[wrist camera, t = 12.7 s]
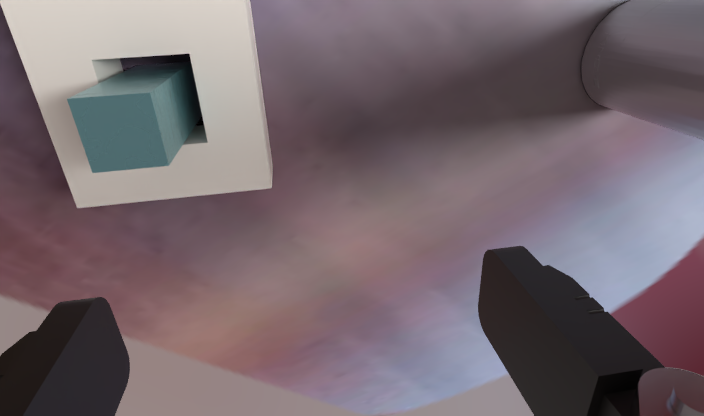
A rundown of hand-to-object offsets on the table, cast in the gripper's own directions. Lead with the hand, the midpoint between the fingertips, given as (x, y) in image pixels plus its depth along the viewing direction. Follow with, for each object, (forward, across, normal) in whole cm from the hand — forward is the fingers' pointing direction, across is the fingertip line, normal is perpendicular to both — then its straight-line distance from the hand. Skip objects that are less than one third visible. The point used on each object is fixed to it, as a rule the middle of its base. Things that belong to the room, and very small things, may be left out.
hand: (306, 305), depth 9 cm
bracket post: (+28, +9, 0) cm, 29 cm away
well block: (+28, +9, 0) cm, 29 cm away
